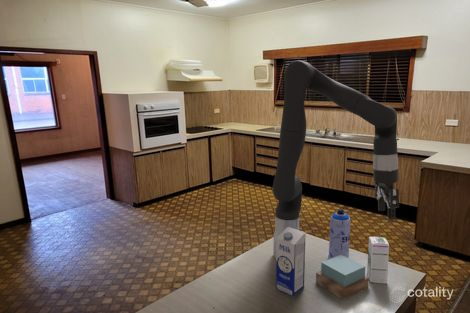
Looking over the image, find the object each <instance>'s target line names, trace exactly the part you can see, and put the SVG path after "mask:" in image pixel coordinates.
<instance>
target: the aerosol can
mask: <svg viewBox="0 0 470 313" xmlns="http://www.w3.org/2000/svg"><path fill="white" fill-rule="evenodd" d="M329 219H330V220H329V221H330V222H329V243H328V256H327V258H328V260H329V259H331V258H334V257H336V256H339V255H343V256H345V257H347V258H349V257H350V255H349V254H350V240H351V238H350V236H351V220H352V219H351V218H350V216H349V214H347V213H346V212H345V209H342V208H341V209H337V212H334V213H333V214H331V216H330V218H329ZM349 259H350V258H349Z"/></svg>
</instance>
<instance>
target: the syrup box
mask: <svg viewBox="0 0 470 313" xmlns="http://www.w3.org/2000/svg"><path fill="white" fill-rule="evenodd" d="M367 247H368V249H367V251H368V252H367V265H366V266H367V267H366V268H367V269H366V275H367V277H368V278H369V281H368V282H370V283H375V284H383V285H384V284H388V272H389V256H390V255H389V253H390V244H389V242H388V240H387V237H382V236H369V237H368V246H367Z"/></svg>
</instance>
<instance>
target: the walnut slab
mask: <svg viewBox="0 0 470 313" xmlns="http://www.w3.org/2000/svg"><path fill="white" fill-rule="evenodd" d="M315 282H316V283H317V284H319V286H321V287H323V288H325V289H327V290H328V291H329V292H331V293H333V294H334V295H336V296H337V297H339V298H341V299H342V300H346V299H348V298H350V297H352V296H354V295H356V294H359V293H360V292H362V291H364V290H367V289H368V288H369V282H370V281H369V278H368V276H366V275H365V278H363V279H361V280H358V281H356V282H354V283H352V284H350V285H348V286H346V287H344V286H342V285H341V284H339V283H337V282H335V281H334V280H332V279H330V278H328V277H327V276H325V275H323V274H322V273H321V270H319V271H317V272H316V273H315Z"/></svg>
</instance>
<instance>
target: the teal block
mask: <svg viewBox="0 0 470 313" xmlns="http://www.w3.org/2000/svg"><path fill="white" fill-rule="evenodd" d="M320 264H321V265H320V271H321V273H322V274H323V275H325V276H327V277H328V278H330V279H332V280H334V281H335V282H337V283H339V284H341V285H342V286H344V287H346V286H348V285H350V284H352V283H354V282H356V281H358V280H361V279H363V278H365V276H366V265H364V264H361V263H359V262H357V261H355V260H353V259H351V258H347V257H345V256H343V255H339V256H336V257H334V258H331V259H329V258H328V259H327V260H324V261H321V263H320Z"/></svg>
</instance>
